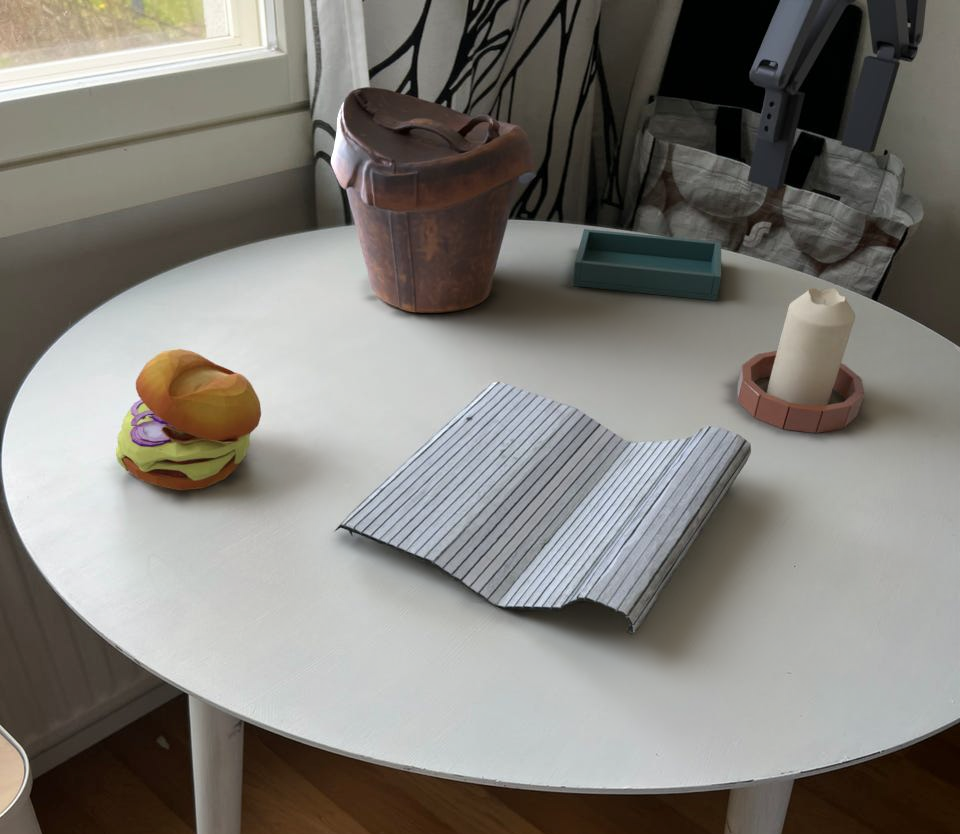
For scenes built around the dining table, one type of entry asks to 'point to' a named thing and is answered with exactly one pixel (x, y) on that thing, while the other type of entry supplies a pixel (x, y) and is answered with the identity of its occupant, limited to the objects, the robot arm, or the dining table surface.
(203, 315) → the dining table surface
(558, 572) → the mat
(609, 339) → the dining table surface
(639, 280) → the tray
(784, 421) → the faceted band ring
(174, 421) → the cheeseburger
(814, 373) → the candle
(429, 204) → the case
